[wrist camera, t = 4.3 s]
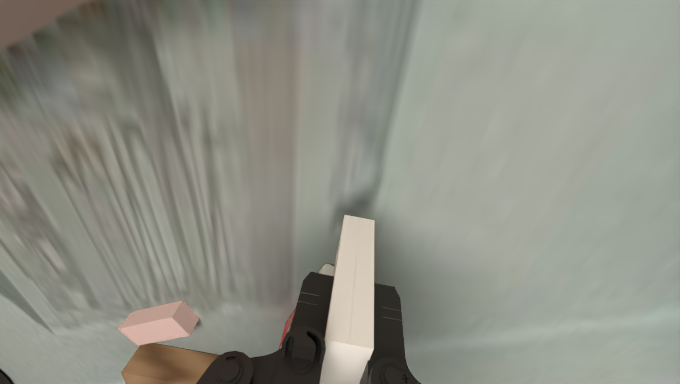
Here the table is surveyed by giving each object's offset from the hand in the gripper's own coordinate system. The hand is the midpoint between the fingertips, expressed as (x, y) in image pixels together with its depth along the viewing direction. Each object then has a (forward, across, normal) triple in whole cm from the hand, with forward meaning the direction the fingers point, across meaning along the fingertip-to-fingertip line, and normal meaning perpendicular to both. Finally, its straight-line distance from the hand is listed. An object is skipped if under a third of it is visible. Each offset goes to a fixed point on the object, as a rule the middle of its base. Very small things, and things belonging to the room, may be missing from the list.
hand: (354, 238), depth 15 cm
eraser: (+4, -15, -16) cm, 22 cm away
